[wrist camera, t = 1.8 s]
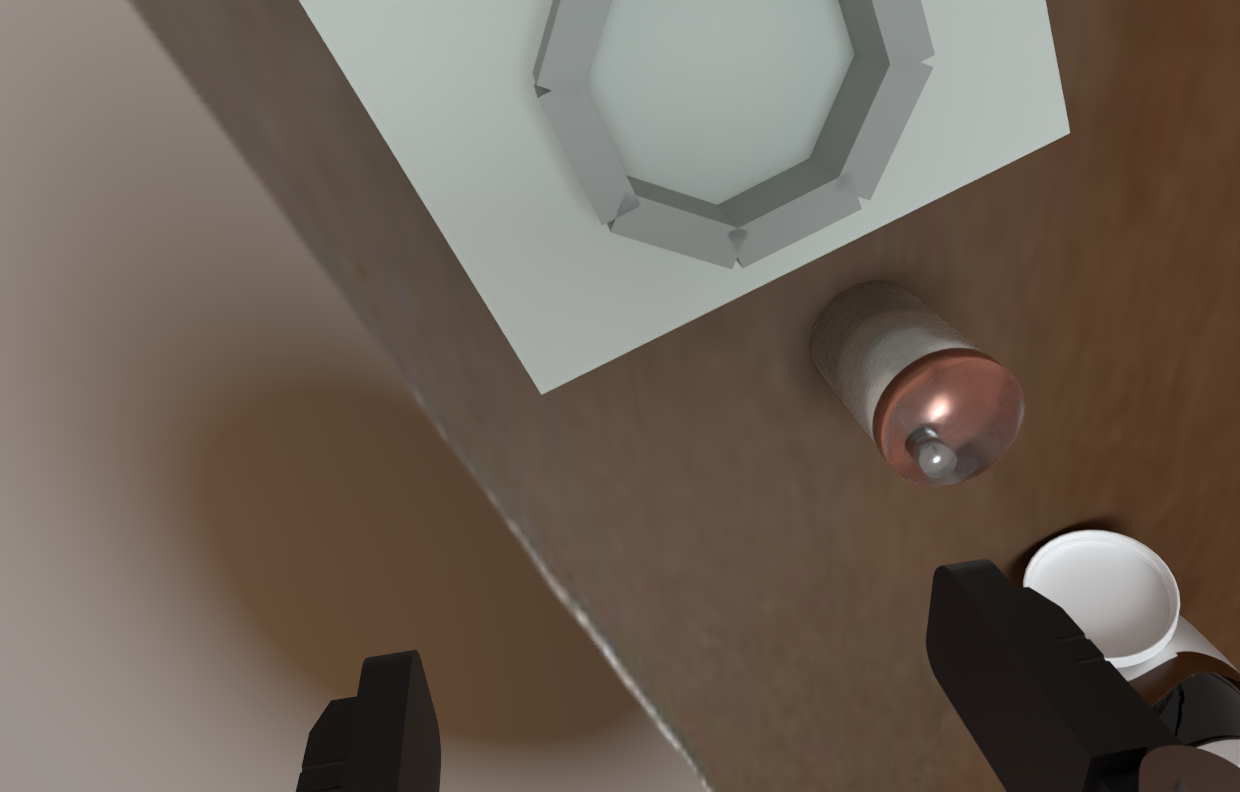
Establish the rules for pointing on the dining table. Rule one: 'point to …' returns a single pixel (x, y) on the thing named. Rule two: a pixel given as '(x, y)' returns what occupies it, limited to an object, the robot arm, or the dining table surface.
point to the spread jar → (1143, 632)
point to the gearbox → (681, 140)
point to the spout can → (916, 384)
